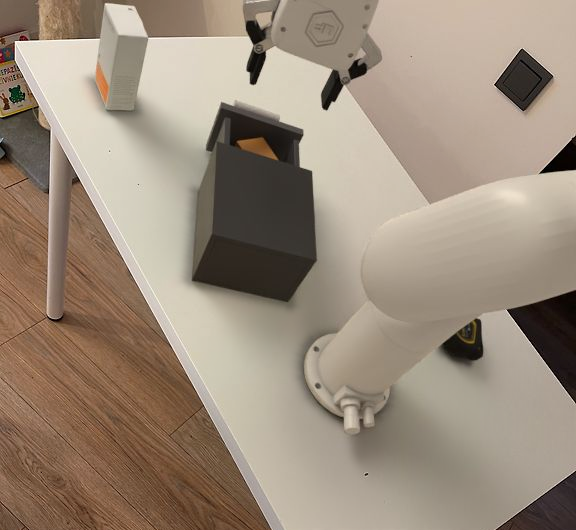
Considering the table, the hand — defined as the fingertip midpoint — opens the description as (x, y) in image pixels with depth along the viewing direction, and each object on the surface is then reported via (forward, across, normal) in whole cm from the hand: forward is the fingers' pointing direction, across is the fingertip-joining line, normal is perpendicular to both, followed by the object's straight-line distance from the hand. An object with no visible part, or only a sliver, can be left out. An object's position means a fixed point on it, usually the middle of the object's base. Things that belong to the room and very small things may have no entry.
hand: (288, 90), depth 74 cm
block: (+15, 0, +1) cm, 15 cm away
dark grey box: (+17, 0, +1) cm, 17 cm away
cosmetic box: (+17, -20, +11) cm, 29 cm away
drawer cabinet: (+18, 0, -11) cm, 21 cm away
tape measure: (+18, +35, -19) cm, 44 cm away
